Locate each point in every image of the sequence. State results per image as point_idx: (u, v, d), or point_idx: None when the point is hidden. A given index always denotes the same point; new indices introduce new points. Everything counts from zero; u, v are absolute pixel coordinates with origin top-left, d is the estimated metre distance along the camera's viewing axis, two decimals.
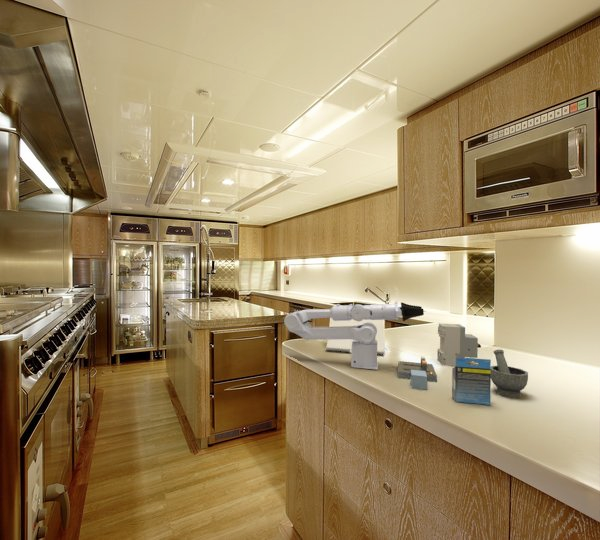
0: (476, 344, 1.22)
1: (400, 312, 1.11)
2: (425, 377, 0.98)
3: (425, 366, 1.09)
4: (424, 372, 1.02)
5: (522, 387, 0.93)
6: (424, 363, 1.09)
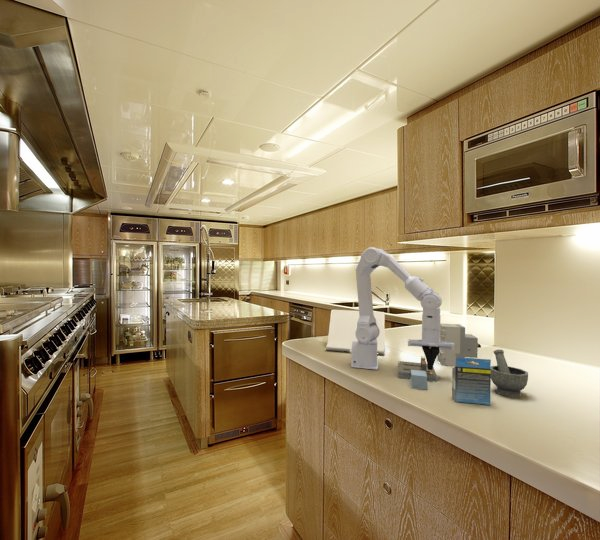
0: (476, 344, 1.22)
1: (408, 344, 1.11)
2: (425, 377, 0.98)
3: (425, 366, 1.09)
4: (424, 372, 1.02)
5: (522, 387, 0.93)
6: (424, 363, 1.09)
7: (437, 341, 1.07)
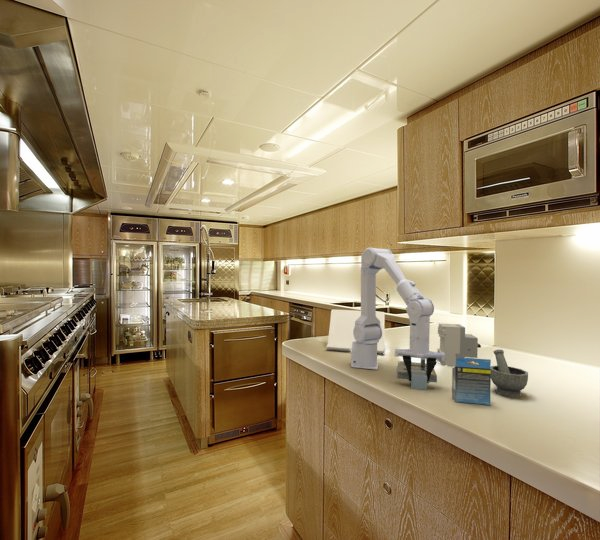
0: (476, 344, 1.22)
1: None
2: (425, 377, 0.98)
3: None
4: (424, 372, 1.02)
5: (522, 387, 0.93)
6: None
7: (426, 351, 0.98)
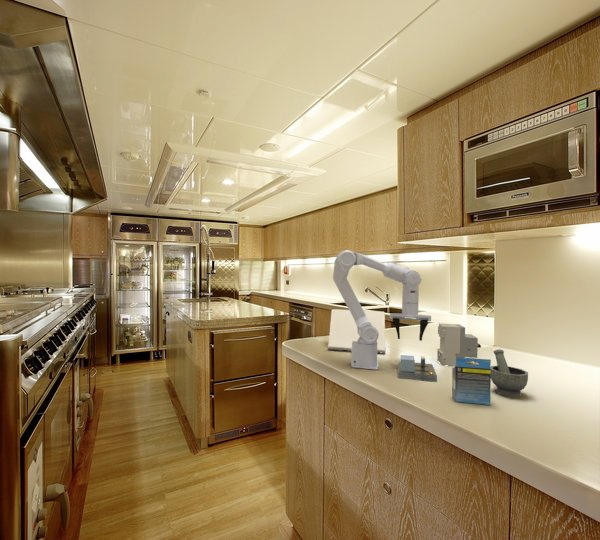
0: (476, 344, 1.22)
1: None
2: (413, 361, 1.08)
3: None
4: (412, 357, 1.12)
5: (522, 387, 0.93)
6: None
7: (415, 313, 1.18)
